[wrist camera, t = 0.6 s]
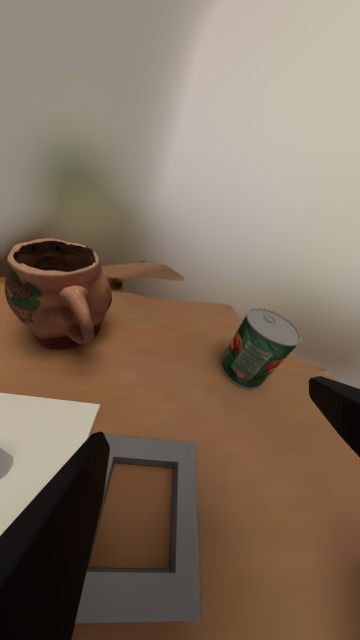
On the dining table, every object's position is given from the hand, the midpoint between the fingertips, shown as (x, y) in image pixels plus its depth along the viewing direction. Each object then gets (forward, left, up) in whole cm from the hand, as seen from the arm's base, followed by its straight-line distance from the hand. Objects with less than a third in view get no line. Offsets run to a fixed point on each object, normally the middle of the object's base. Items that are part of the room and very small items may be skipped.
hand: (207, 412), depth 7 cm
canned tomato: (+16, -13, -17) cm, 27 cm away
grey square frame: (-2, +2, -17) cm, 17 cm away
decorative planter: (+18, +17, -17) cm, 30 cm away
